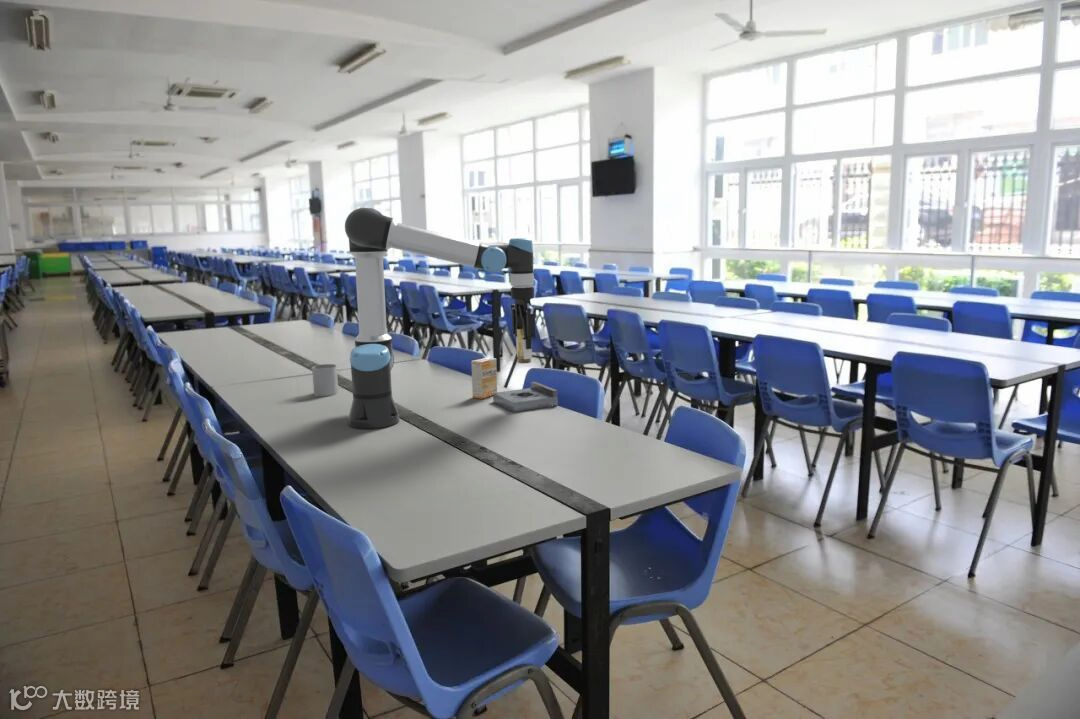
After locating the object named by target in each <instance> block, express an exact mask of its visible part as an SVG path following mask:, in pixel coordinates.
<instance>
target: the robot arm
mask: <svg viewBox="0 0 1080 719" xmlns="http://www.w3.org/2000/svg"><path fill="white" fill-rule="evenodd" d="M344 231H345V235H346V237H347V238H348V246H349V254H350V255H352V256H353V257H354V262H355V263H354V265H355V266H354V267H355V281H356V282H355V283H356V296H357V298H356V299H357V317H358V319H357V320H358V335H357V336H356V337H355V338H354V348H352V350H350V354H349V356H350V357H349V363H350V372H351V387H352V403H351V407H350V411H349V414H348V425H349V426H350V427H352V428H355V429H362V430H363V429H365V430H369V429H370V430H371V429H381V428H387V427H391V426H393V425H397V424H398V423H400V413H399V410H398V408H397V405H396V403H395V400H394V398H393V393H392V392H393V391H392V390H393V389H392V370H393V367H394V364H395V355H394V352H393V337H392V336H391V335H390V334H389V333H388V331H387V330H388V329H387V312H386V311H387V310H386V295H385V294H386V292H385V291H386V290H385V273H384V272H385V271H384V270H385V269H384V257H385V255H386V254H387V253H388V252H389V251H388V250H390V249H391V248H392V249H396V250H400V251H403V252H409V253H413V254H416V255H421V256H425V257H430V258H433V259H438V260H441V261H442V260H443V261H446V262H451V263H453V264H454V263H455V264H458V265H463V266H468V267H470V268H471V267H472V268H473V269H474V270H482V271H483V270H484V271H487V272H488V273H492V274H496V273H499V272H501V271H502V270H504V269H509V270H510V271H509V278H510V279H509V280H510V282H509V284H510V286H511V287H510V298H511V300H514V303H513V304H510V309H511V326H512V327H511V329H512V334H513V335H514V336H515V341H516V343H515V344H516V357H517V358H518V349H517V329H519V328H523V331H524V338H522V339H523V356H524V359H531V360H532V358H533V344H532V343H533V342H532V339H533V338H535V337H536V307H532V303H531V300H533V299H534V298H535V288H534V287H533V286H534V285H535V284H534V283H535V282H534V278H535V275H534V249H533V241H532V239H531V238H530V237H520V238H519V237H518V238H517V237H516V238H515V237H513V238H510V239H509V241H508V244H504V245H503V244H501V245H500V244H497V245H495V244H493V245H490V244H485V243H480V242H477V241H472V240H469V239H465V238H460V237H456V236H453V235H452V236H451V235H448V234H445V233H439V232H437V231H436V232H435V231H433V230H428V229H424V228H420V227H416V226H412V225H408V224H403V223H400V222H397V221H396V219H395V218H394V217H390V216H386V215H384V214H383V213H382V212H380V211H379V210H377V209H375V208H373V207H371V208H370V207H360V208H356V209H354V210H353V211H351V212H350V213H349V214H348V216H347V217H346V219H345V221H344Z"/></svg>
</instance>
